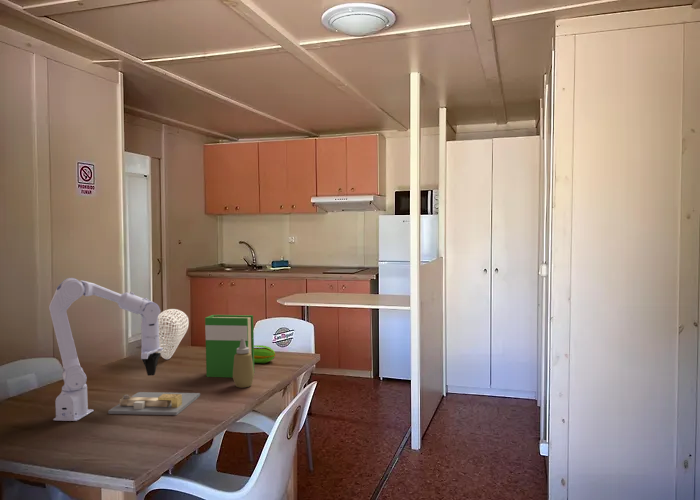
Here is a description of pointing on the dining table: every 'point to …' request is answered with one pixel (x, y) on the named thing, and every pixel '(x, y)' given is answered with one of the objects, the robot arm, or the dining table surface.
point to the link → (148, 400)
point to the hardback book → (226, 342)
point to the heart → (179, 332)
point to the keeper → (172, 399)
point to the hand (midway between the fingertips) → (151, 374)
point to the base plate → (151, 410)
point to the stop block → (139, 404)
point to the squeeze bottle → (243, 366)
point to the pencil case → (263, 354)
